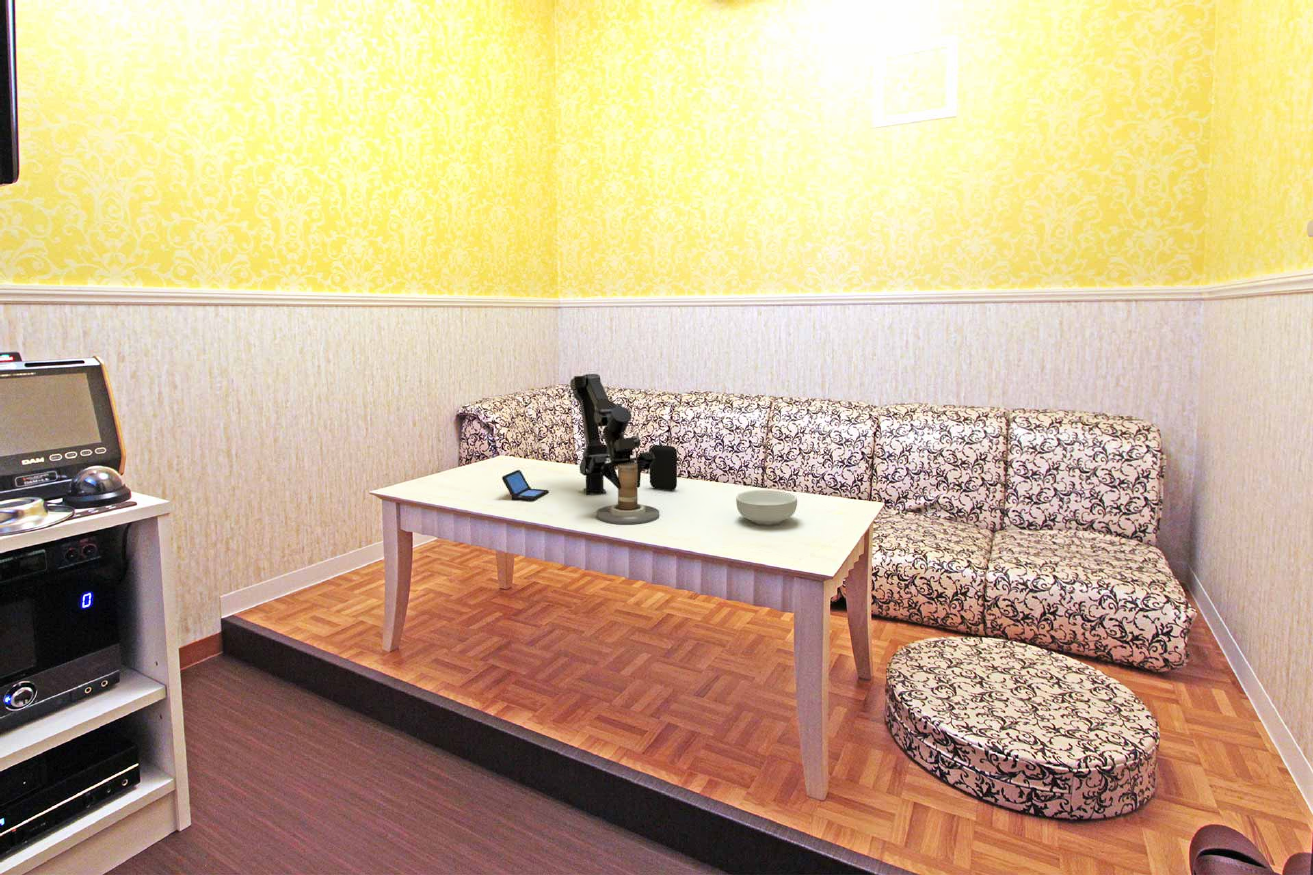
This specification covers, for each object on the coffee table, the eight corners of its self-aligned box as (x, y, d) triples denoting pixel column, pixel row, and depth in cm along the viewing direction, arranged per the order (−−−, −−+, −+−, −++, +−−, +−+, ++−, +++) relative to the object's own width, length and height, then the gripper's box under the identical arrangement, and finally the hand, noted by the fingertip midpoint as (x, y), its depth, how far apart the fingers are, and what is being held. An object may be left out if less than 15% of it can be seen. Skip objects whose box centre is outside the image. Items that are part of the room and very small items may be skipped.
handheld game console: (533, 502, 222) (532, 478, 220) (501, 500, 225) (500, 476, 223) (550, 493, 234) (549, 470, 232) (519, 490, 236) (518, 468, 235)
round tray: (591, 509, 213) (590, 501, 212) (650, 505, 218) (650, 497, 217) (602, 526, 196) (602, 517, 195) (666, 521, 200) (666, 513, 200)
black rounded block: (645, 488, 239) (645, 444, 237) (649, 486, 242) (649, 443, 239) (674, 492, 234) (674, 447, 232) (678, 490, 237) (678, 445, 234)
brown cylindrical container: (621, 506, 210) (621, 462, 208) (639, 507, 208) (639, 463, 206) (615, 511, 204) (615, 466, 202) (634, 512, 203) (634, 467, 201)
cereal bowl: (756, 509, 213) (757, 486, 212) (807, 519, 203) (808, 495, 202) (723, 522, 201) (724, 497, 199) (776, 533, 190) (777, 507, 189)
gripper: (591, 428, 202) (604, 474, 194) (652, 424, 210) (668, 469, 202) (583, 451, 211) (595, 496, 203) (642, 446, 218) (656, 490, 210)
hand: (629, 487), depth 204 cm, fingers closed on brown cylindrical container, 5 cm apart
